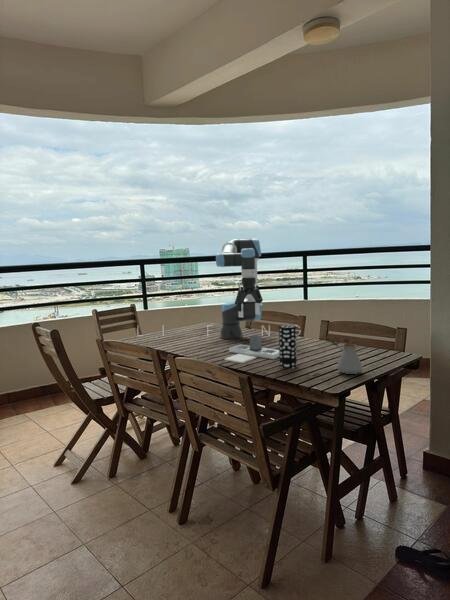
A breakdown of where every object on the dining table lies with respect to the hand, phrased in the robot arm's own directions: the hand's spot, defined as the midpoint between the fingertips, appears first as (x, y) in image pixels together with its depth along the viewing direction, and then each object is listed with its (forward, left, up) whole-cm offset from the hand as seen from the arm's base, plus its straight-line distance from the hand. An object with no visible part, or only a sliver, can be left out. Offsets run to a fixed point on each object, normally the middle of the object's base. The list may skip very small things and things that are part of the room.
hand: (249, 316), depth 229 cm
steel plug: (-3, +2, -22) cm, 22 cm away
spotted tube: (+9, +30, -22) cm, 38 cm away
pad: (+11, +2, -21) cm, 24 cm away
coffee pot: (+1, +54, -22) cm, 58 cm away
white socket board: (-3, +2, -21) cm, 22 cm away
